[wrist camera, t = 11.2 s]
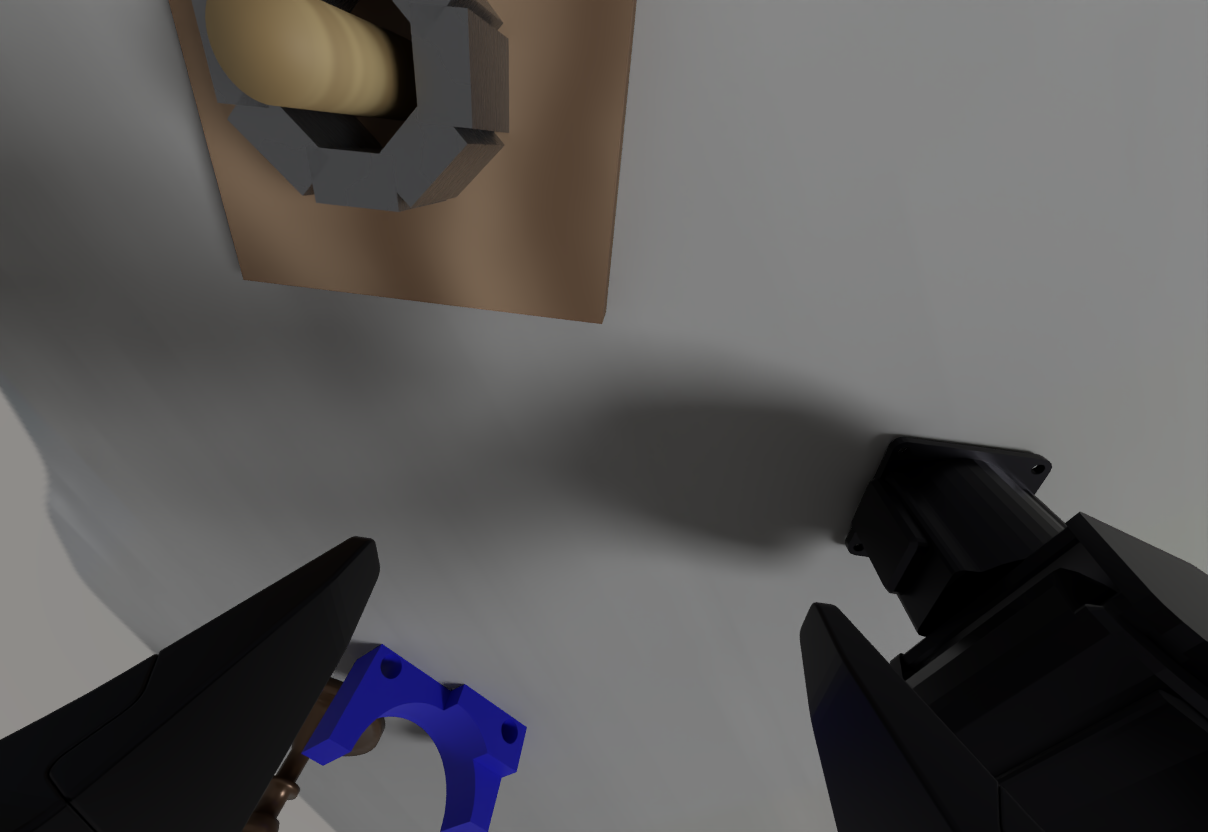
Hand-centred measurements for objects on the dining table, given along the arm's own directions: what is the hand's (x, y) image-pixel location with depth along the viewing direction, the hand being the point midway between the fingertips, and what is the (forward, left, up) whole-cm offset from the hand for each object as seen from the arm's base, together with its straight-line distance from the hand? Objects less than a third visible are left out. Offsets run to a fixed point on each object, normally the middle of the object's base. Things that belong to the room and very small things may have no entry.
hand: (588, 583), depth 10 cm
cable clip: (+10, +27, -12) cm, 31 cm away
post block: (+8, -9, -12) cm, 17 cm away
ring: (+8, -9, -10) cm, 16 cm away
